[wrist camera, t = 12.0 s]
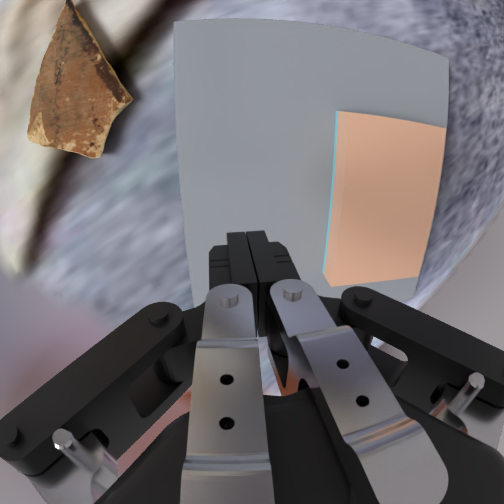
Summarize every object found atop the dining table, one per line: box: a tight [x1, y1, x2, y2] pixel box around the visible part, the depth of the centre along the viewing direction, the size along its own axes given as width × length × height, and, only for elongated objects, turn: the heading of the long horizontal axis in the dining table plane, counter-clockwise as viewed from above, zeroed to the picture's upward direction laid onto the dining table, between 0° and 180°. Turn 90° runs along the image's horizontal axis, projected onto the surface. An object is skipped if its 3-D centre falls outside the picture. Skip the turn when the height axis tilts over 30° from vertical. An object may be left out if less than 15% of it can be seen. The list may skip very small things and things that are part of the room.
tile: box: [322, 111, 446, 287], centre depth 20 cm, size 12×2×8 cm
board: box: [174, 19, 449, 308], centre depth 20 cm, size 22×20×1 cm
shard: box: [27, 0, 133, 159], centre depth 15 cm, size 11×8×2 cm
